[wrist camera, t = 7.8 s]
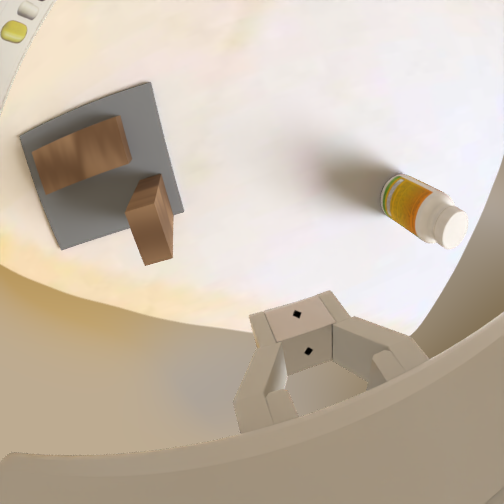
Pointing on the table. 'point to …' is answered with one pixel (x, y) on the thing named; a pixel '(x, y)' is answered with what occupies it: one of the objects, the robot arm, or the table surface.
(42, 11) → the supplement box
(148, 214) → the right walnut tile
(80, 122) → the slate rubber mat
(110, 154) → the left walnut tile
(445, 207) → the supplement bottle
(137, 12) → the table surface
